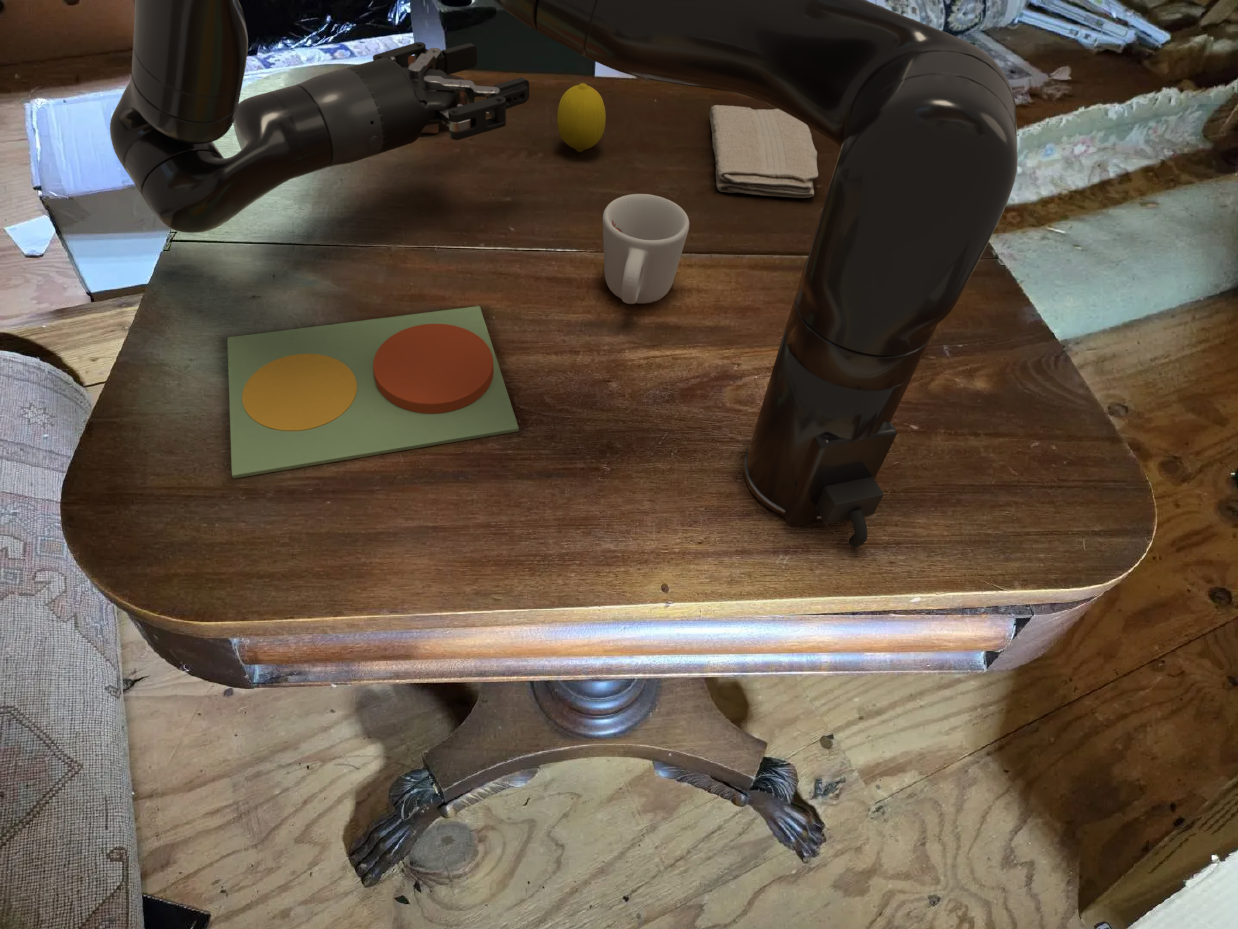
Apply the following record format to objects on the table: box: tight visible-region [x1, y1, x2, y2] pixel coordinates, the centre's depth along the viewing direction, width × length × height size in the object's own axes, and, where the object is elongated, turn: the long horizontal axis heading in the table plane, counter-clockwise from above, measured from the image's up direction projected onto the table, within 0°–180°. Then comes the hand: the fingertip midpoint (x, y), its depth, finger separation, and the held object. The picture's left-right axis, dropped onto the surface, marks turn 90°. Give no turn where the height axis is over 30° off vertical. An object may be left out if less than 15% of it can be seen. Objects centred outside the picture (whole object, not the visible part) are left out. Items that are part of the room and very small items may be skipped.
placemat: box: [226, 305, 520, 480], centre depth 71 cm, size 16×22×2 cm
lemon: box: [556, 82, 607, 153], centre depth 97 cm, size 6×6×8 cm
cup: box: [602, 193, 690, 305], centre depth 80 cm, size 11×8×8 cm
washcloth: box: [708, 104, 819, 199], centre depth 101 cm, size 12×18×3 cm, turn 0°
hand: (500, 70), depth 85 cm, fingers open, 8 cm apart
